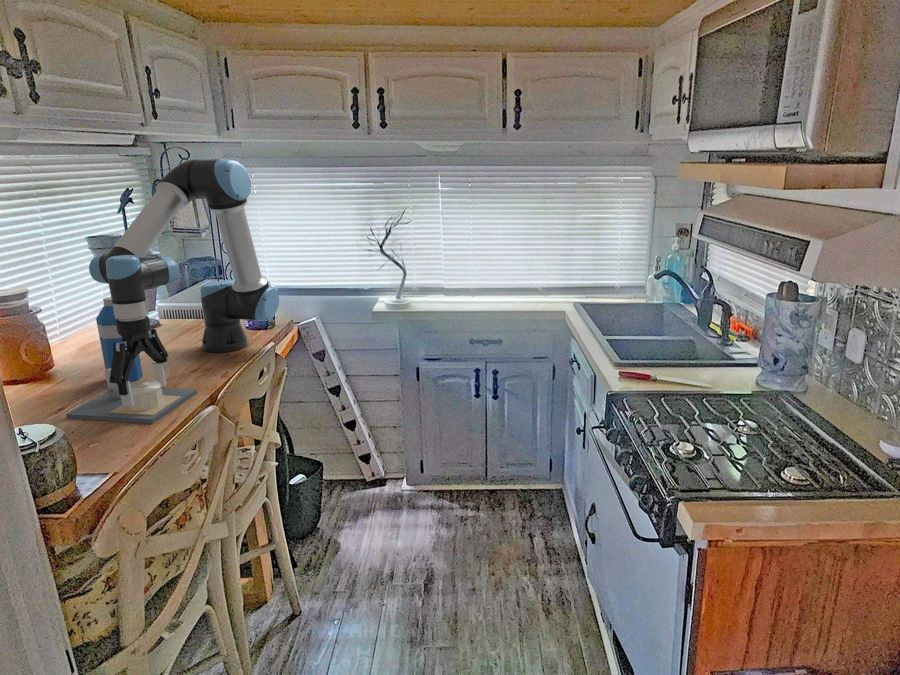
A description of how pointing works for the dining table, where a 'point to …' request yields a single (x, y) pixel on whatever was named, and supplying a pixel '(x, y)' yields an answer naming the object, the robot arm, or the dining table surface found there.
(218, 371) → the dining table surface
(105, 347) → the water bottle
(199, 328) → the dining table surface
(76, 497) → the dining table surface
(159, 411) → the board
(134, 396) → the cap
